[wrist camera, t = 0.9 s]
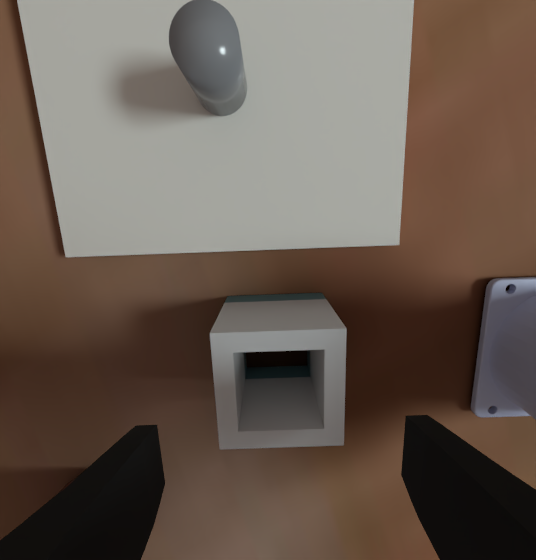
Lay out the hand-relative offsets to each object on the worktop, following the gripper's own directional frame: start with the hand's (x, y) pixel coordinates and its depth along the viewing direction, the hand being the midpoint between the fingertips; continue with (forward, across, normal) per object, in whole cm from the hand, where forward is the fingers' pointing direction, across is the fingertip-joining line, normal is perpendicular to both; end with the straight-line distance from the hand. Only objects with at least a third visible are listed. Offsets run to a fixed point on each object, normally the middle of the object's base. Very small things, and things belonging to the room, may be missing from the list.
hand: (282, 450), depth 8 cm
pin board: (+8, +2, -12) cm, 14 cm away
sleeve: (+8, 0, 0) cm, 8 cm away
